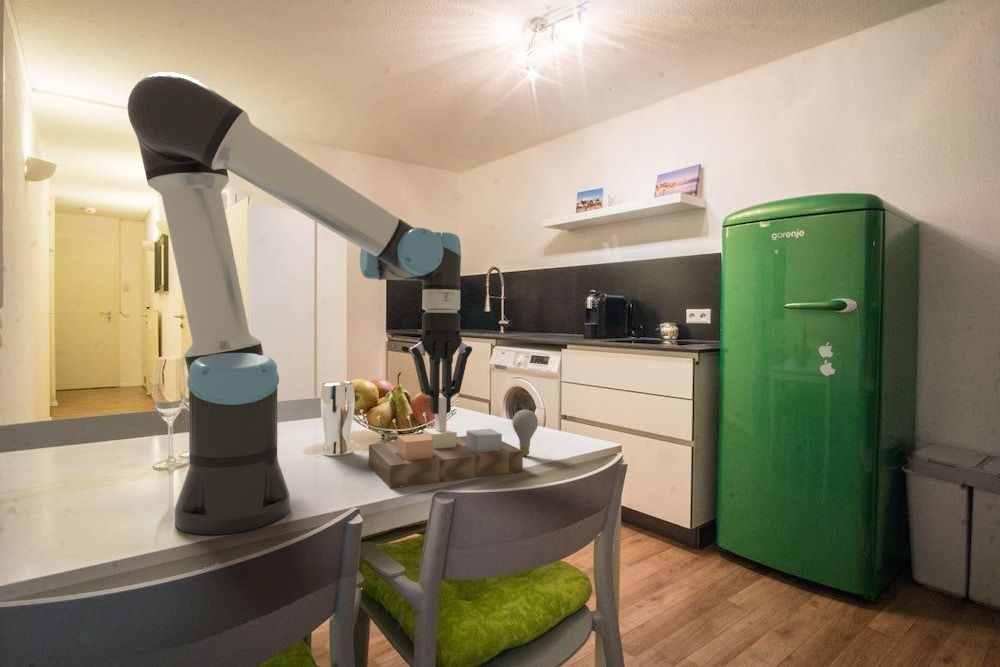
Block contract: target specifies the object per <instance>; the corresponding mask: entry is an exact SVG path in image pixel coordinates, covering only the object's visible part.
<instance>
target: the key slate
mask: <svg viewBox="0 0 1000 667" xmlns="http://www.w3.org/2000/svg"><path fill="white" fill-rule="evenodd" d="M466 436H467V440H466V448H468V449H470V450H472V451H473V452H475V453H481V452H490V451H499V450H501V449H502V441H503V438H502V436H503V434H502V433H501V432H498V431H496V430H494V429H492V428H484V429H483V428H482V429H472V430H471V429H470V430H466Z"/></svg>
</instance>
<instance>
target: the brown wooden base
mask: <svg viewBox="0 0 1000 667" xmlns="http://www.w3.org/2000/svg"><path fill="white" fill-rule="evenodd" d="M466 440H467V435H463V436H457V444H456V447H448V448H438V449H433V458H425V459H415V460H406V461H404V460H402V459H401V458H400V457H399V456H398V455H397V442H396V441H395V442H386V443H377V444H376V443H375V444H368V466H369V468H371V469H372V470H373V471H374V473H375V474H376V475H377V476H378V477H379V478H380V479H381V480H382V481H383V482H384V483H386V484H387V485H388V486H389V487H390V488H389V487H388V486H387V485H386V484H385V485H386V486H387V487H388V488H389V489H392V488H391V487H397V488H401V487H400V486H405V487H411V485H413V486H420V485H427V484H436V483H444V482H448V481H449V482H450V481H451V482H452V481H458V480H465V479H474V478H481V477H489V476H496V475H505V474H511V473H512V474H513V473H521V472H523V467H524V466H523V462H524V461H523V459H524V456H523V451H522V450H520V448H517V447H516V446H513V445H511V444H510V443H507V442H505V441H503V440H502V449H501V450H499V451H490V452H481V453H475V452H473V451H472V450H470V449H468V448H466Z"/></svg>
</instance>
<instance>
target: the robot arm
mask: <svg viewBox="0 0 1000 667" xmlns="http://www.w3.org/2000/svg"><path fill="white" fill-rule="evenodd" d="M127 114H128V119H129V122H130V125H131V127H132V129H133V131H134V134H135V135H136V138H137V141H138V146H139V150H140V155H141V159H142V160H141V161H142V163H143V168H144V172H145V177H146V182H147V185H148V187H150V188H151V189H153V190H154V191H155V192H157V193H159V194H160V196H161V199H162V204H163V210H164V213H165V218H166V223H167V228H168V233H169V238H170V242H171V247H172V252H173V257H174V261H175V266H176V271H177V276H178V280H179V284H180V289H181V293H182V298H183V299H182V300H183V303H184V308H185V313H186V317H187V321H188V322H187V323H188V326H189V331H190V336H191V345H190V346H189V347H188V349H186V350H187V351H186V352H185V353H184V358H185V364H186V368H187V374H188V377H187V379H186V380H187V387H188V425H189V426H188V429H189V430H188V434H189V435H188V436H189V437H188V442H189V444H188V450H189V451H188V452H189V456H188V457H189V458H188V461H189V462H188V464H189V465H188V470H187V473H186V476H185V478H184V482H183V485H182V487H181V491H180V493H179V496H178V499H177V501H176V505H175V508H174V525H175V527H176V528H177V529H178V530H180V531H183V532H184V533H189V534H197V535H222V534H223V535H225V534H234V533H235V534H236V533H240V532H245V531H250V530H254V529H258V528H261V527H265V526H267V525H270V524H272V523H274V522H277V521H279V520H280V519H282V518H284V517H285V516H286V515H287V514H288V513H289V511H290V510H291V509H290V507H291V505H290V504H291V502H290V492H289V491H290V490H289V488H288V485H287V483H286V480H285V478H284V473H283V472H282V469H281V466H280V462H279V459H278V386H279V383H280V375H279V373H278V366H277V363H276V361H275V360H274V359H273V358H271V357H269V356H267V355H264V351H263V346H262V341H261V340H260V339H258V338H257V337H255V336H254V335H252V334H251V333H250V329H249V324H248V318H247V315H246V310H245V309H246V308H245V304H244V298H243V295H242V294H243V293H242V290H241V285H240V280H239V274H238V269H237V263H236V259H235V255H234V249H233V244H232V240H231V233H230V230H229V224H228V220H227V215H226V214H227V213H226V209H225V205H224V204H225V203H224V198H223V193H222V192H223V190H224V188H225V187H226V186H227V185H228V183H230V182H229V181H230V178H229V174H228V171H229V172H231V173H232V174H234V175H235V176H238V177H239V178H241V179H242V180H244V181H246V182H247V183H250V184H251V185H253V186H254V187H256V188H258V189H260V190H261V191H264V192H265V193H266V194H269V195H270V196H271V197H273V198H275V199H277V200H278V201H279V202H280V201H281V202H282V203H283V204H285V205H287V206H289V207H291V208H292V209H294V210H295V211H297V212H298V213H301V214H302V215H304V216H306V217H307V218H309V219H311V220H313V222H316V223H318V224H319V225H321V226H322V227H324V228H325V229H327V230H330V231H331V232H333V233H335V234H336V235H338V236H339V237H341V238H343V239H345V240H346V241H348V242H350V243H352V245H353V244H354V245H355V246H357V248H358V247H359V248H360V252H359V266H360V271H361V275H362V276H363V277H364V278H366V279H370V280H378V281H383V280H386V281H388V280H389V281H416V282H422V287H421V288H422V297H421V298H422V299H421V300H422V304H421V305H422V306H421V308H422V310H424V311H425V312H423V314H421V315H422V316H421V324H422V325H421V332H422V333H421V336H420V338H419V342H418V343H417V344H415V345H413V346H409V347H408V352H409V354H410V355H411V357H412V358H413V362H414V367H415V370H416V375H417V379H418V383H419V387H420V392H421V393H422V394H423V395H426V396H429V400H430V401H429V402H430V406H429V407H430V408H429V409H430V410H429V411H430V413H431V414H432V415H434V428H435V429H436V430H438V431H446V427H447V414H449V413H451V411H452V410H451V407H452V406H451V404H452V402H451V400H452V398H453V396H454V395H456V394H459V393H460V392H461V388H462V384H463V379H464V375H465V371H466V370H465V369H466V365H467V362H468V358H469V357H470V355H471V353H472V351H473V347H472V346H471V345H470V346H469V345H467V344H466V343H464V342H463V338H462V337H461V334H460V333H461V332H460V331H461V315H460V312H459V313H458V311H460V309H461V268H462V267H461V266H462V248H461V240H460V237H459V236H458V235H457V234H455V233H452V232H447V231H446V232H444V231H441V232H440V231H436V232H435V231H432V230H431V229H428V228H422V227H414V226H412V225H410V224H409V223H408V222H406V221H404V220H402V219H401V218H399V217H397V216H396V215H394V214H393V213H391V212H390V211H387V209H385V208H383V207H382V206H380V205H379V204H377V203H376V202H374V201H372V199H369V198H368V197H366V196H365V195H363V194H362V193H361V192H359V191H357V190H355V189H354V188H352V187H350V186H349V185H348V184H346V183H344V182H343V181H341V180H340V179H338V178H337V177H335V176H333V175H332V174H331V173H329V172H328V171H326V170H324V169H323V168H321V167H319V166H318V165H316V164H314V163H313V162H312V161H310V160H308V159H307V158H305V157H304V156H302V155H301V154H300V153H298V152H296V151H294V150H293V149H291V148H290V147H288V146H287V145H285V144H284V143H282V142H280V140H277V139H276V138H274V137H273V136H271V135H269V134H268V133H267V132H265V131H263V130H262V129H260V128H259V127H258V126H256V125H254V124H253V123H252V122H251V120H250V118H249V114H248V112H247V111H245V110H243V108H241V107H240V106H238V105H236V104H235V103H233V102H232V101H230V100H228V99H227V98H226V97H224V96H223V95H221V94H220V93H218V92H216V91H215V90H213V89H211V88H210V87H208V86H206V85H205V84H203V83H202V82H200V81H198V80H196V79H194V78H192V77H190V76H187V75H184V74H179V73H175V72H157V73H153V74H151V75H148V76H145V77H144V78H142V79H141V80H140V81H138V82H137V83H136V84H135V85H134V87H133V88H132V89H131V91H130V94H129V97H128V100H127ZM424 351H425V353H426V354H427V355H428V358H429V359H428V362H429V376H428V373H427V368H426V364H425V360H424V357H423V354H424ZM457 351H458V355H457V358H456V362H455V367H454V370H453V363H454V355H455V354H456V352H457ZM440 369H441V370H440ZM440 372H441V374H440ZM440 376H441V382H440ZM440 384H441V385H440ZM440 386H441V388H440ZM440 389H441V395H440Z"/></svg>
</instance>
